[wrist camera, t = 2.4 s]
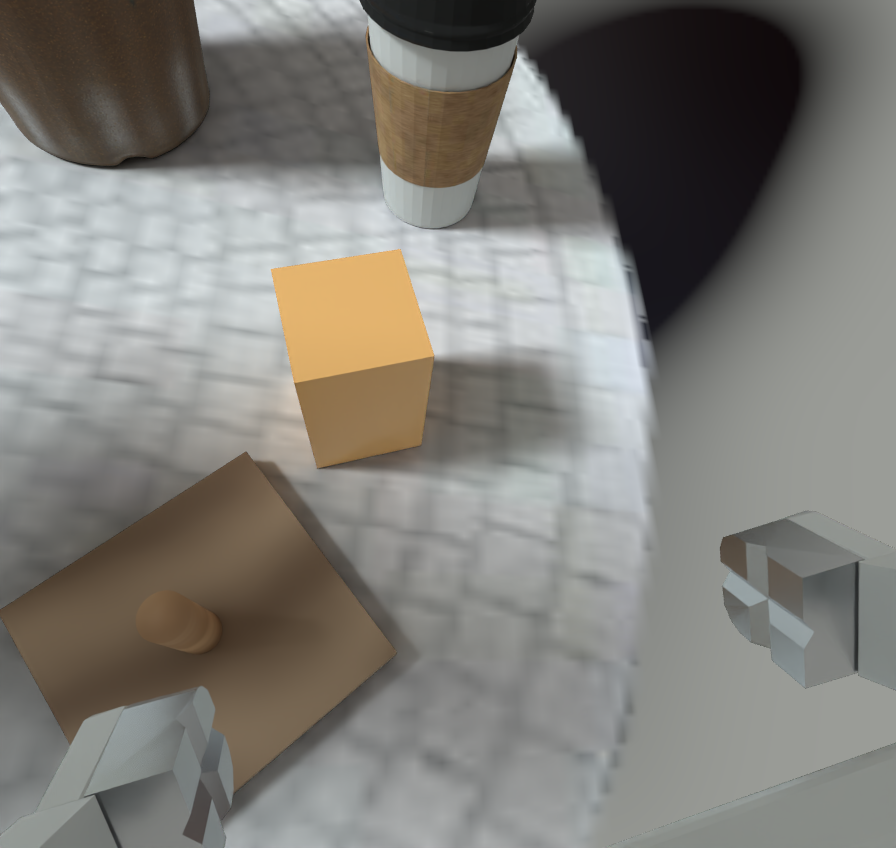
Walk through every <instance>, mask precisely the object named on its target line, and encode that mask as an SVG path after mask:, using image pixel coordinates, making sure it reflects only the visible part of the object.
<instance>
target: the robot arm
mask: <svg viewBox="0 0 896 848" xmlns="http://www.w3.org/2000/svg"><path fill="white" fill-rule="evenodd" d="M720 555H721V556H720V557H721V562H722V563H723V564H724V565H725V566H726V567H727V568H728V569H729V571H730V572H729V574H728V576H727V578H726V580H725V582H724V584H723V586H722V587H723V596H724V605H725V607H726V610H727V611H728V614H729V617H730V619H731V621H732V623H733V624H734V625H735V627H736V628H737V629H738V631H739V632H740V633H741V634H742V635H743V636H744V637H746V639H748V640H749V641H750V642H751V643H754V644H757V645H760V646H764V647H767V648H770V649H771V657H772V661H773V662H775V663H776V664H777V665H778V666H779V667H780V668H782V669H783V670H784V671H785V672H786V673H787V674H789V675H790V676H791V677H792V678H794V679H795V680H796V681H797V682H798V683H799V684H801V685H802V686H803V687H804V688H809V687H812V686H816V685H819V684H822V683H826V682H829V681H832V680H836V679H839V678H842V677H846V676H849V675H852V674H855V673H858V676H861V677H863V678H865V679H868V680H871V681H873V682H876V683H878V684H881V685H883V686H886V687H888V688H891V689H893V690H896V549H895V548H893V547H891V546H889V545H886V544H884V543H882V542H880V541H878V540H876V539H874V538H871V537H869V536H867V535H865V534H863V533H861V532H859V531H857V530H855V529H852V528H850V527H848V526H846V525H844V524H842V523H840V522H838V521H835V520H833V519H831V518H829V517H827V516H825V515H823V514H821V513H819V512H816V511H804V512H801V513H797V514H794V515H791V516H788V517H785V518H782V519H779V520H777V521H774V522H771V523H768V524H765V525H761V526H758V527H755V528H752V529H749V530H745V531H742V532H739V533H736V534H732V535H729V536H726V537H723V539H722V543H721V546H720ZM214 714H215V707H214V704H213V702H212V699H211V697H210V694H209V692H208V690H207V689H206V688H204V687H203V686H198V687H194V688H190V689H187V690H183V691H179V692H175V693H172V694H168V695H164V696H160V697H156V698H153V699H149V700H145V701H141V702H138V703H134V704H130V705H129V706H122V707H118V708H115V709H112V710H108V711H105V712H102V713H98V714H95V715H92V716H90V717H89V718H87V719H85V720H84V721H83V723H82V725H81V727H80V728H79V730H78V732H77V734H76V736H75V738H74V740H73V742H72V743H71V745H70V747H69V749H68V751H67V753H66V755H65V757H64V758H63V760H62V762H61V764H60V766H59V768H58V770H57V772H56V773H55V775H54V777H53V779H52V781H51V783H50V785H49V787H48V788H47V790H46V792H45V794H44V796H43V798H42V800H41V802H40V803H39V805H38V807H37V809H36V811H35V813H33V814H30V815H26V816H23V817H21V818H20V819H18V820H17V821H16V822H15V823H14V824H13V825H12V826H10V827H9V828H8V829H7V830H6V831H5V832H4V833H2V834H1V835H0V848H224V847H225V841H226V836H225V833H224V830H223V827H222V825H221V822H220V821H221V820H222V819H223V818H224V816H225V815H226V814H227V812H228V811H229V810H230V809H231V804H232V797H233V790H234V786H233V765H232V760H231V755H230V750H229V747H228V744H227V741H226V738H225V735H223V734H222V733H220V732H218V731H217V730H215V729H213V728H212V723H213V718H214ZM604 848H896V743H894V744H891V745H888V746H885V747H883V748H880V749H877V750H874V751H871V752H869V753H866V754H863V755H860V756H857V757H855V758H852V759H849V760H846V761H844V762H841V763H838V764H835V765H832V766H830V767H827V768H824V769H821V770H818V771H816V772H813V773H810V774H807V775H804V776H802V777H799V778H796V779H793V780H790V781H788V782H785V783H782V784H779V785H777V786H774V787H771V788H768V789H765V790H763V791H760V792H757V793H754V794H751V795H748V796H746V797H743V798H740V799H737V800H735V801H732V802H729V803H726V804H723V805H720V806H718V807H715V808H712V809H709V810H707V811H704V812H701V813H698V814H696V815H693V816H690V817H687V818H685V819H682V820H679V821H676V822H674V823H671V824H668V825H665V826H662V827H660V828H657V829H654V830H652V831H649V832H646V833H643V834H640V835H637V836H635V837H632V838H629V839H626V840H624V841H621V842H618V843H615V844H613V845H610V846H607V847H604Z"/></svg>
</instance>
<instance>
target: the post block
mask: <svg viewBox="0 0 896 848" xmlns="http://www.w3.org/2000/svg"><path fill="white" fill-rule="evenodd" d="M0 617H1V619H2V621H3V623H4V625H5V626H6V628H7V630H8V632H9V634H10V636H11V637H12V639H13V641H14V643H15V645H16V647H17V648H18V650H19V652H20V654H21V656H22V658H23V659H24V661H25V663H26V665H27V667H28V669H29V670H30V672H31V674H32V676H33V678H34V680H35V681H36V683H37V685H38V687H39V689H40V691H41V692H42V694H43V696H44V698H45V700H46V702H47V703H48V705H49V707H50V709H51V711H52V713H53V714H54V716H55V718H56V720H57V722H58V724H59V725H60V727H61V729H62V731H63V733H64V735H65V736H66V738H67V740H68V742H69V744H70V745H71V743H72V742H73V740H74V738H75V736H76V734H77V732H78V730H79V728H80V727H81V725H82V723H83V721H84V720H85V719H87V718H89V717H90V716H92V715H95V714H98V713H102V712H105V711H108V710H112V709H115V708H118V707H122V706H129V705H130V704H134V703H138V702H141V701H145V700H149V699H153V698H156V697H160V696H164V695H168V694H172V693H175V692H179V691H183V690H187V689H190V688H194V687H198V686H203V687H204V688H206V689H207V690H208V692H209V694H210V697H211V699H212V702H213V704H214V707H215V714H214V718H213V723H212V728H213V729H215V730H217V731H218V732H220V733H222V734H223V735H225V738H226V741H227V744H228V747H229V750H230V755H231V760H232V765H233V786H234V790H233V794H234V793H236V792H237V791H238V790H239V789H240V788H241V787H243V786H244V785H245V784H246V783H247V782H248V781H250V780H251V779H252V778H253V777H254V776H255V775H257V774H258V773H259V772H260V771H261V770H262V769H264V768H265V767H266V766H267V765H268V764H269V763H271V762H272V761H273V760H274V759H275V758H276V757H278V756H279V755H280V754H281V753H282V752H283V751H285V750H286V749H287V748H288V747H289V746H290V745H292V744H293V743H294V742H295V741H296V740H297V739H299V738H300V737H301V736H302V735H303V734H304V733H306V732H307V731H308V730H309V729H310V728H311V727H313V726H314V725H315V724H316V723H317V722H318V721H320V720H321V719H322V718H323V717H324V716H325V715H327V714H328V713H329V712H330V711H331V710H332V709H334V708H335V707H336V706H337V705H338V704H339V703H341V702H342V701H343V700H344V699H345V698H346V697H348V696H349V695H350V694H351V693H352V692H353V691H355V690H356V689H357V688H358V687H359V686H360V685H362V684H363V683H364V682H365V681H366V680H367V679H369V678H370V677H371V676H372V675H373V674H374V673H376V672H377V671H378V670H379V669H380V668H381V667H382V666H384V665H385V664H386V663H387V662H388V661H389V660H391V659H392V658H393V657H394V656H395V655H396V654H397V652H396V650H395V649H394V648H393V646H392V645H391V644H390V642H389V641H388V640H387V638H386V637H385V636H384V634H383V633H382V632H381V630H380V629H379V628H378V626H377V625H376V624H375V622H374V621H373V620H372V618H371V617H370V616H369V614H368V613H367V612H366V610H365V609H364V608H363V606H362V605H361V604H360V602H359V601H358V600H357V598H356V597H355V596H354V594H353V593H352V592H351V590H350V589H349V588H348V586H347V585H346V584H345V582H344V581H343V580H342V578H341V577H340V576H339V574H338V573H337V572H336V570H335V569H334V568H333V566H332V565H331V564H330V562H329V561H328V560H327V558H326V557H325V556H324V554H323V553H322V552H321V550H320V549H319V548H318V546H317V545H316V544H315V542H314V541H313V540H312V538H311V537H310V536H309V534H308V533H307V532H306V530H305V529H304V528H303V526H302V525H301V524H300V522H299V521H298V520H297V518H296V517H295V516H294V514H293V513H292V512H291V510H290V509H289V508H288V506H287V505H286V504H285V502H284V501H283V500H282V498H281V497H280V496H279V494H278V493H277V492H276V490H275V489H274V488H273V486H272V485H271V484H270V482H269V481H268V480H267V478H266V477H265V476H264V474H263V473H262V472H261V470H260V469H259V468H258V466H257V465H256V464H255V462H254V461H253V460H252V458H251V457H250V456H249V454H248V453H247V452H244V453H243V454H241V455H240V456H238V457H237V458H235V459H234V460H232V461H230V462H229V463H227V464H226V465H224V466H223V467H221V468H220V469H218V470H216V471H215V472H213V473H212V474H210V475H209V476H207V477H206V478H204V479H202V480H201V481H199V482H198V483H196V484H195V485H193V486H192V487H190V488H189V489H187V490H185V491H184V492H182V493H181V494H179V495H178V496H176V497H175V498H173V499H171V500H170V501H168V502H167V503H165V504H164V505H162V506H161V507H159V508H157V509H156V510H154V511H153V512H151V513H150V514H148V515H147V516H145V517H143V518H142V519H140V520H139V521H137V522H136V523H134V524H133V525H131V526H129V527H128V528H126V529H125V530H123V531H122V532H120V533H119V534H117V535H116V536H114V537H112V538H111V539H109V540H108V541H106V542H105V543H103V544H102V545H100V546H98V547H97V548H95V549H94V550H92V551H91V552H89V553H88V554H86V555H84V556H83V557H81V558H80V559H78V560H77V561H75V562H74V563H72V564H70V565H69V566H67V567H66V568H64V569H63V570H61V571H60V572H58V573H56V574H55V575H53V576H52V577H50V578H49V579H47V580H46V581H44V582H42V583H41V584H39V585H38V586H36V587H35V588H33V589H32V590H30V591H29V592H27V593H25V594H24V595H22V596H21V597H19V598H18V599H16V600H15V601H13V602H11V603H10V604H8V605H7V606H5V607H4V608H2V609H1V610H0Z"/></svg>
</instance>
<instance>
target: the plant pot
mask: <svg viewBox="0 0 896 848" xmlns="http://www.w3.org/2000/svg"><path fill="white" fill-rule="evenodd" d="M209 95H210V93H209V87H208V82H207V77H206V72H205V66H204V60H203V54H202V48H201V42H200V36H199V30H198V24H197V18H196V12H195V6H194V0H0V103H1V104H2V106H3V107H4V108H5V110H6V111H7V112H8V114H9V115H10V117H11V118H12V120H13V121H14V123H15V124H16V126H17V127H18V128H19V130H20V131H21V132H22V133H23V134H24V136H25V137H26V138H27V139H28V140H30V141H31V142H32V143H33V144H34V145H36V146H37V147H39V148H40V149H42V150H44V151H46V152H48V153H50V154H52V155H54V156H56V157H59V158H62V159H65V160H69V161H73V162H77V163H82V164H89V165H100V166H113V165H118V164H120V163H121V162H122V161H123V160H124V159H126V158H129V157H136V156H140V157H147V158H154V157H157V156H159V155H162V154H164V153H166V152H168V151H170V150H172V149H174V148H175V147H177V146H178V145H180V144H181V143H182V142H184V141H185V140H186V139H187V138H188V137H189V136H191V135H192V134H193V133H194V131H195V130H196V129H197V128H198V127H199V125H200V124H201V122H202V121H203V119H204V117H205V115H206V113H207V110H208V108H209Z"/></svg>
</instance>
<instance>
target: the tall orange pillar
mask: <svg viewBox="0 0 896 848" xmlns="http://www.w3.org/2000/svg"><path fill="white" fill-rule="evenodd" d="M271 272H272V277H273V282H274V287H275V292H276V297H277V301H278V306H279V311H280V316H281V321H282V326H283V331H284V335H285V340H286V345H287V350H288V355H289V360H290V365H291V370H292V374H293V379H294V384H295V388H296V391H297V395H298V399H299V402H300V406H301V410H302V414H303V417H304V421H305V425H306V428H307V432H308V436H309V440H310V443H311V447H312V451H313V454H314V458H315V462H316V466H317V468H322V467H326V466H331V465H335V464H340V463H344V462H349V461H353V460H358V459H362V458H367V457H371V456H376V455H380V454H385V453H389V452H394V451H398V450H403V449H407V448H411V447H416V446H420V445H421V443H422V436H423V430H424V423H425V416H426V409H427V403H428V396H429V389H430V382H431V376H432V369H433V362H434V353H433V350H432V347H431V344H430V341H429V337H428V334H427V331H426V328H425V325H424V322H423V318H422V315H421V312H420V309H419V306H418V303H417V300H416V296H415V293H414V290H413V287H412V284H411V281H410V277H409V274H408V271H407V268H406V265H405V262H404V258H403V255H402V252H401V249H398V250H392V251H385V252H379V253H372V254H366V255H359V256H353V257H346V258H340V259H333V260H327V261H320V262H314V263H307V264H301V265H295V266H288V267H282V268H275V269H271Z"/></svg>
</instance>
